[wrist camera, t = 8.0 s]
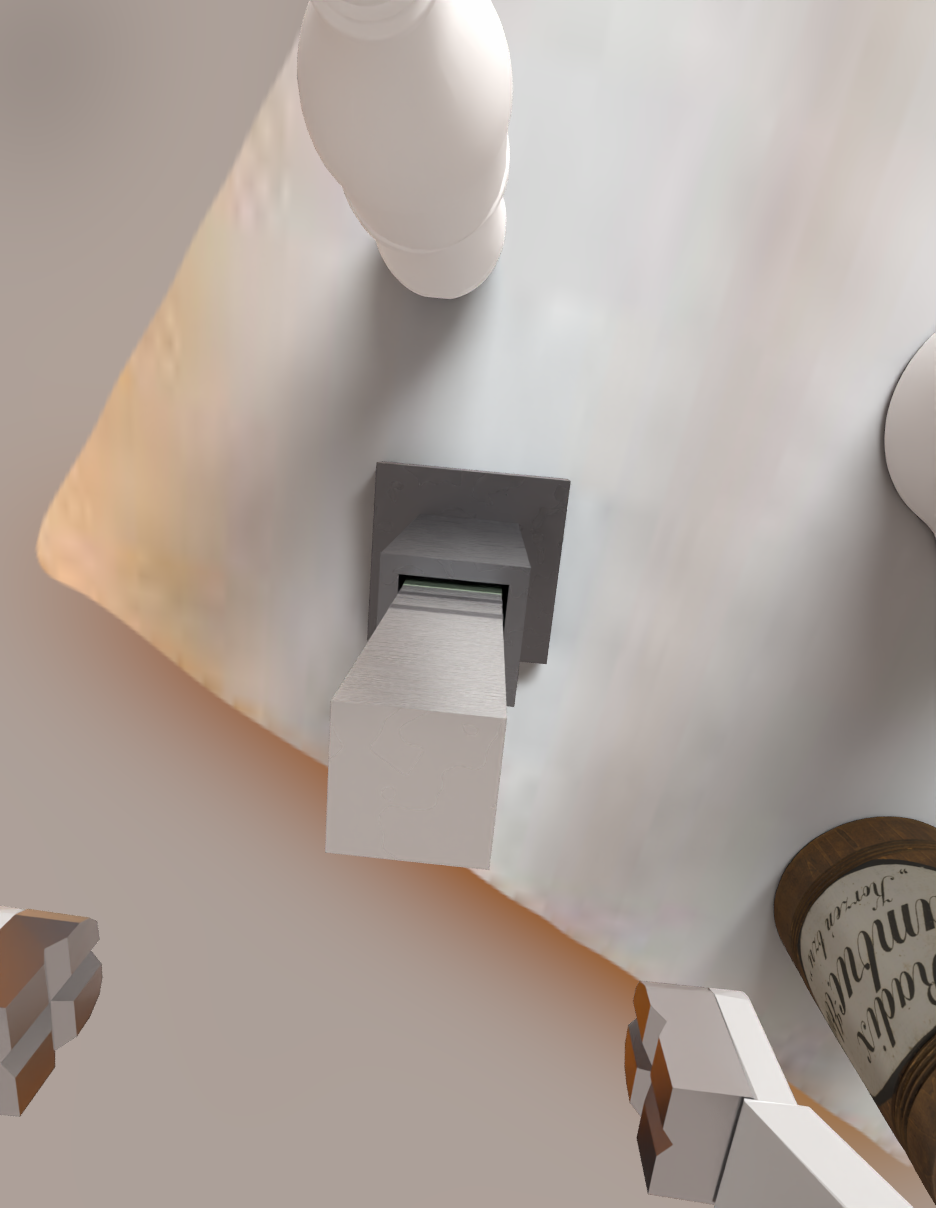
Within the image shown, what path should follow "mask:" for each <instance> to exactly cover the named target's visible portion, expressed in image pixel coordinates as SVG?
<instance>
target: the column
mask: <svg viewBox="0 0 936 1208" xmlns="http://www.w3.org/2000/svg"><path fill="white" fill-rule="evenodd" d="M506 722H507V708H506V686H505V663H504V641H503V615H502V587H501V584H495V583H485V582H475V581H465V580H455V579H445V578H434V577H424V576H414V575H409V577H408V578H407V579H406V580H405V582H404V584H403V586H402V588H401V590H400V591H399V592H398V593H397V596H396V598H395V599H394V601H393V602H392V604H390V606H389V608H388V610H387V612H386V614H385V615H384V617H383V618H382V620H381V622H380V623H379V625H378V626H377V628H376V630H375V631H374V633H373V634H372V636H371V638H370V639H369V641H368V642H367V644H366V645H365V647H364V649H363V650H362V652H361V653H360V655H359V657H358V658H357V660H356V661H355V663H354V665H353V666H352V668H351V669H350V671H349V673H348V674H347V676H346V677H345V679H344V681H343V682H342V684H341V685H340V687H339V689H338V690H337V692H336V693H335V695H334V697H333V698H332V700H331V712H330V738H329V765H328V792H327V793H328V794H327V819H326V847H325V852H326V853H336V854H344V855H354V856H363V857H373V858H382V859H391V860H400V861H410V862H419V863H429V864H439V865H448V866H457V867H466V868H476V869H485V870H489V867H490V859H491V850H492V842H493V833H494V825H495V816H496V808H497V799H498V791H499V782H500V774H501V765H502V757H503V748H504V740H505V731H506Z"/></svg>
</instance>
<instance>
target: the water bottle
mask: <svg viewBox="0 0 936 1208" xmlns="http://www.w3.org/2000/svg"><path fill="white" fill-rule="evenodd" d="M297 80H298V88H299V95H300V103H301V109H302V113H303V116H304V119H305V123H306V126H307V130H308V132H309V135H310V137H311V140H312V142H313V144H314V147H315V149H316V151H317V153H318V155H319V156H320V158H321V160H322V162H323V163H324V165H325V167H326V168H327V169H328V171H329V172H330V173H331V174H332V176H333V177H334V178H335V179H336V181H337V182H338V183H339V184H340V185H341V186H342V188H343V191H344V194H345V196H346V198H347V201H348V203H349V205H350V207H351V209H352V210H353V212H354V214H355V215H356V217H357V219H358V220H359V222H360V223H361V225H362V226H363V227H364V229H365V230H366V231H367V232H368V233H369V234H370V235H371V236H372V237H373V238H374V239H375V240H376V243H377V247H378V249H379V252H380V254H381V256H382V258H383V260H384V262H385V264H386V265H387V267H388V268H389V270H390V271H391V272H392V274H393V275H394V276H395V277H396V278H397V279H398V280H399V281H400V282H401V283H402V284H403V285H404V286H405V287H407V288H408V289H410V290H411V291H412V292H414V293H416V294H419V295H421V296H424V297H433V298H444V299H454V298H457V297H460V296H463V295H466V294H467V293H469V292H471V291H472V290H474V289H476V288H477V287H478V286H479V285H480V284H481V283H483V282H484V281H485V280H486V279H487V277H488V276H489V275H490V274H491V272H492V271H493V269H494V267H495V265H496V263H497V261H498V259H499V256H500V254H501V251H502V249H503V245H504V239H505V233H506V209H505V203H504V199H503V195H504V192H505V189H506V185H507V181H508V174H509V162H510V150H509V139H508V133H507V131H508V125H509V121H510V117H511V110H512V100H513V81H512V68H511V61H510V54H509V48H508V45H507V41H506V38H505V35H504V31H503V28H502V25H501V22H500V20H499V17H498V15H497V13H496V11H495V9H494V7H493V4H492V2H491V0H309V3H308V6H307V9H306V12H305V15H304V18H303V22H302V26H301V32H300V38H299V44H298V53H297Z"/></svg>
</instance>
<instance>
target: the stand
mask: <svg viewBox="0 0 936 1208" xmlns="http://www.w3.org/2000/svg"><path fill="white" fill-rule="evenodd" d="M570 482H571V481H570V480H568V479H562V478H551V477H541V476H530V475H520V474H509V473H499V472H488V471H478V470H467V469H457V468H447V467H436V466H426V465H415V464H405V463H394V462H384V461H382V462H377V466H376V485H375V504H374V523H373V542H372V561H371V581H370V600H369V619H368V638H367V642H368V641H369V639H370V638H371V636H372V634H373V633H374V631H375V630H376V628H377V626H378V625H379V623H380V622H381V620H382V618H383V617H384V615H385V614H386V612H387V610H388V608H389V606H390V604H392V602H393V601H394V599H395V598H396V596H397V593H398V592H399V591H400V590H401V588H402V586H403V584H404V582H405V580H406V579H407V578H408V577H409V575H414V576H424V577H434V578H445V579H455V580H465V581H475V582H485V583H495V584H501V587H502V615H503V641H504V663H505V686H506V706H510V707H514V704H515V696H516V687H517V679H518V671H519V662H520V661H521V662H531V663H541V664H547V656H548V649H549V641H550V633H551V626H552V618H553V611H554V603H555V595H556V588H557V580H558V573H559V565H560V558H561V550H562V542H563V535H564V527H565V520H566V512H567V504H568V497H569V489H570Z"/></svg>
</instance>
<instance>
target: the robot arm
mask: <svg viewBox="0 0 936 1208" xmlns="http://www.w3.org/2000/svg"><path fill="white" fill-rule="evenodd" d="M885 456H886V462H887V466H888V470H889V473H890V476H891V479H892V481H893V484H894V486H895V488H896V490H897V492H898V493H899V495H900V496H901V498H902V499H903V501H904V502H905V503H906V505H907V506H908V507H909V508H910V509H911V510H912V511H913V512H914V513H915V514H916V515H917V516H918V517H919V518H920V519H922V520H923V521H924V522H925V523H926V524H927V525H928V526H929V527H930V529H931V530H932V531H933V533H934V535H935V538H936V332H935V333H934V334H933V335H932V336H931V337H930V338H929V339H928V340H927V341H926V342H925V343H924V344H923V346H922V347H921V348H920V349H919V350H918V352H917V353H916V354H915V355H914V357H913V358H912V360H911V361H910V363H909V364H908V366H907V367H906V369H905V371H904V372H903V374H902V376H901V378H900V380H899V382H898V384H897V386H896V389H895V391H894V394H893V396H892V399H891V402H890V406H889V409H888V414H887V418H886V425H885ZM99 939H100V938H99V930H98V922H97V921H96V920H94V919H91V918H88V917H81V916H74V915H67V914H60V913H53V912H46V911H39V910H32V909H20V908H13V907H7V906H0V1115H8V1116H19V1117H20V1116H21V1114H22V1113H23V1112H24V1110H25V1109H26V1107H27V1106H28V1105H29V1103H30V1102H31V1100H32V1099H33V1098H34V1096H35V1095H36V1093H37V1092H38V1091H39V1089H40V1088H41V1086H42V1085H43V1084H44V1082H45V1081H46V1079H47V1078H48V1077H49V1075H50V1074H51V1072H52V1071H53V1069H54V1068H55V1050H57V1049H58V1048H60V1047H61V1046H63V1045H64V1044H66V1043H67V1042H69V1041H71V1040H72V1039H74V1038H75V1037H77V1036H78V1034H79V1033H80V1031H81V1029H82V1028H83V1027H84V1025H85V1024H86V1022H87V1021H88V1019H89V1018H90V1016H91V1013H92V1011H93V1009H94V1006H95V1004H96V1001H97V999H98V997H99V995H100V988H101V983H102V964H101V962H100V961H99V960H98V959H97V957H96V956H95V955H94V954H93V952H92V951H91V950H92V948H93V947H94V946H95V945H96V943H97V942H98V941H99ZM633 1004H634V1008H635V1013H636V1017H637V1018H636V1019H635V1020H634V1021H633V1022H631V1023H630V1024H629V1025H628V1029H627V1034H626V1040H625V1074H626V1075H625V1076H626V1084H627V1090H628V1096H629V1101H630V1104H631V1105H632V1106H633V1108H634V1109H635V1110H636V1111H637V1113H638V1114H639V1115H640V1116H641V1119H640V1124H639V1129H638V1134H637V1142H638V1147H639V1152H640V1156H641V1162H642V1166H643V1172H644V1176H645V1182H646V1187H647V1192H648V1194H650V1195H656V1196H662V1197H668V1198H675V1199H681V1200H687V1201H694V1202H701V1203H706V1204H713V1205H715V1206H714V1208H913V1207H912V1206H911V1205H910V1204H909V1203H908V1202H907V1201H906V1200H905V1199H904V1198H903V1197H902V1196H901V1195H900V1194H899V1193H898V1192H897V1191H896V1190H895V1189H894V1188H893V1187H892V1186H891V1185H890V1184H889V1183H888V1182H886V1180H884V1179H883V1178H882V1177H881V1176H880V1175H879V1174H878V1173H877V1172H876V1171H875V1170H874V1169H873V1168H872V1167H871V1166H870V1165H869V1164H868V1163H867V1162H866V1161H865V1160H864V1159H862V1157H860V1155H859V1154H858V1153H856V1152H855V1151H854V1150H853V1149H852V1148H851V1147H850V1146H849V1145H848V1144H847V1143H846V1142H845V1141H844V1140H843V1139H842V1138H841V1137H840V1136H839V1135H838V1134H837V1133H836V1132H835V1131H833V1129H832V1128H831V1127H829V1126H828V1125H827V1124H826V1123H825V1122H824V1121H823V1120H822V1119H821V1118H820V1117H819V1116H818V1115H817V1114H816V1113H815V1112H814V1111H813V1110H812V1109H811V1108H810V1107H807V1106H800V1105H797V1102H796V1100H795V1098H794V1096H793V1093H792V1091H791V1089H790V1087H789V1085H788V1082H787V1080H786V1078H785V1076H784V1074H783V1071H782V1069H781V1067H780V1065H779V1063H778V1060H777V1058H776V1056H775V1054H774V1052H773V1049H772V1047H771V1045H770V1043H769V1040H768V1038H767V1036H766V1034H765V1032H764V1029H763V1027H762V1025H761V1023H760V1021H759V1018H758V1016H757V1014H756V1012H755V1010H754V1007H753V1005H752V1003H751V1001H750V999H749V997H748V996H747V995H746V994H745V993H744V992H743V991H735V990H726V989H716V988H705V987H696V986H687V985H677V984H668V983H658V982H648V981H639V983H638V985H637V986H636V990H635V994H634V998H633Z"/></svg>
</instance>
